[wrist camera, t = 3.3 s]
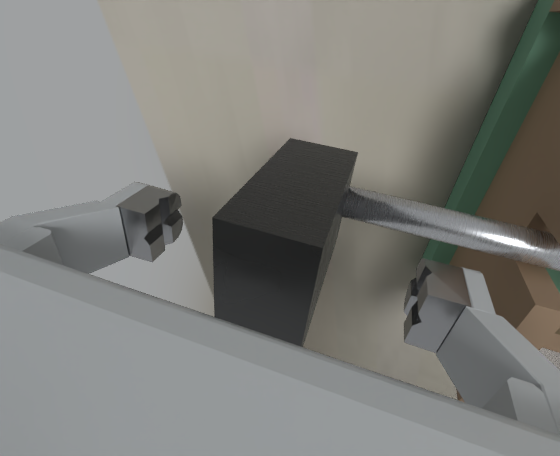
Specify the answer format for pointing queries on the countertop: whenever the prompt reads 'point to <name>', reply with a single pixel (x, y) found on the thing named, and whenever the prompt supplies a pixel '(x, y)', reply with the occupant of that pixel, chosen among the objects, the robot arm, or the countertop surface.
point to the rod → (326, 236)
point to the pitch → (518, 181)
